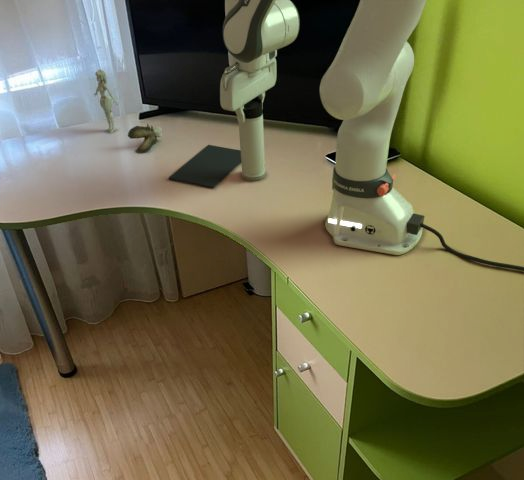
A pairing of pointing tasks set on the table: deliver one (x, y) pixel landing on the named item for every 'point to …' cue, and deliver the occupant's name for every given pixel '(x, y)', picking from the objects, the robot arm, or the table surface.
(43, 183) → the table surface
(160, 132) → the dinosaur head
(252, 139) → the travel mug
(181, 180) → the desk pad
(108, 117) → the human figurine
